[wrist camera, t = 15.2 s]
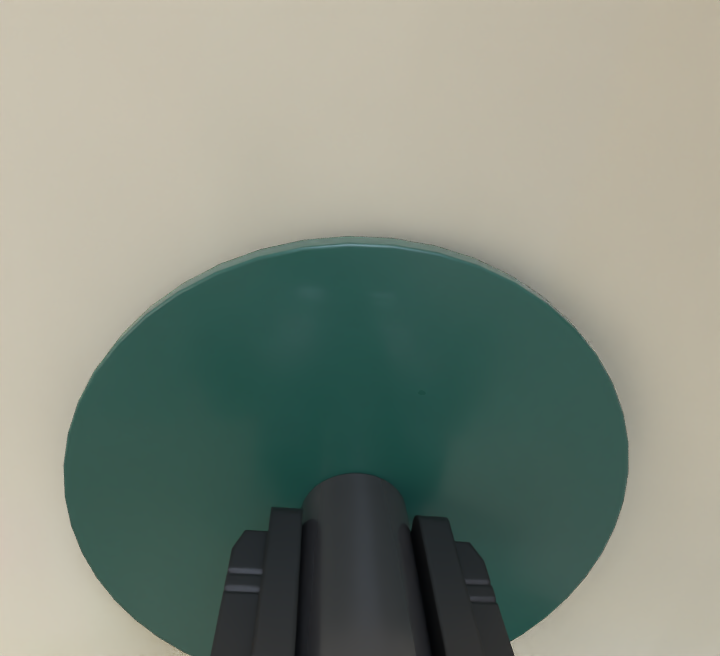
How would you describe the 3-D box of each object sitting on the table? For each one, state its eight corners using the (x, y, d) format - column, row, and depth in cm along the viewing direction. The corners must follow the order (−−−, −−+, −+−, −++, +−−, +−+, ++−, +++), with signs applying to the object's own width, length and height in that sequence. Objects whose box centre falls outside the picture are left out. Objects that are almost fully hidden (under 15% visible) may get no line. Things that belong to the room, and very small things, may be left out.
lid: (685, 261, 12) (976, 417, 7) (533, 657, 18) (625, 921, 12) (55, 193, 11) (-221, 317, 6) (102, 643, 17) (-11, 931, 11)
